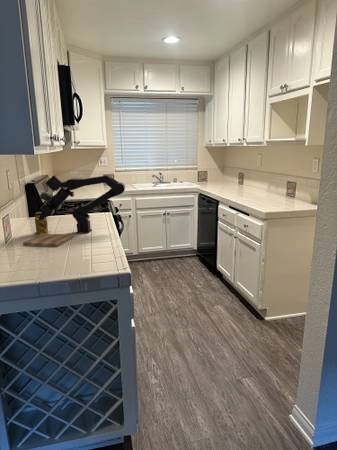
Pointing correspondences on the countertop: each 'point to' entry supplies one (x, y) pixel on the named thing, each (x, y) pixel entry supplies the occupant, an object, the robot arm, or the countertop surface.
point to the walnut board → (48, 240)
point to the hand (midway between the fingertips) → (42, 217)
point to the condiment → (40, 225)
